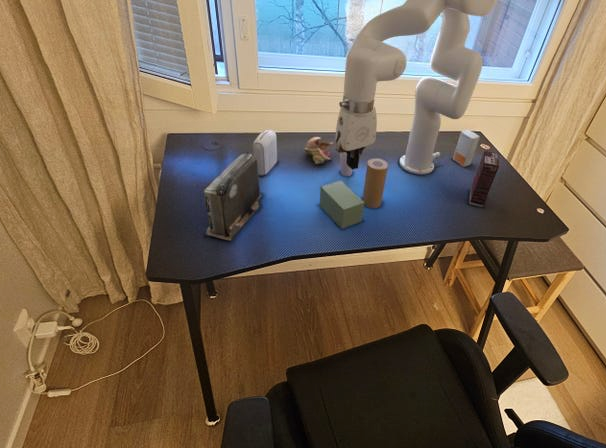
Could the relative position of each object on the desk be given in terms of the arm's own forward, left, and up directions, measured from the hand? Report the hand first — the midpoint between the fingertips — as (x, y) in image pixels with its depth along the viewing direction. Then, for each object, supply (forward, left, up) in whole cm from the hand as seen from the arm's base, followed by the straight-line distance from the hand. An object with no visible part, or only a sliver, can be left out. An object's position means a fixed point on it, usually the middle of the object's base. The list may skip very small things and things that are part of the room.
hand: (352, 166), depth 108 cm
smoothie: (-11, -17, -16) cm, 26 cm away
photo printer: (+11, -31, -16) cm, 36 cm away
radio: (+28, -13, -16) cm, 35 cm away
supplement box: (-42, +15, -16) cm, 47 cm away
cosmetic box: (-55, -4, -16) cm, 57 cm away
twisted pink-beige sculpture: (-7, -29, -16) cm, 34 cm away
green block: (+2, 0, -16) cm, 16 cm away
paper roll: (-5, 0, -15) cm, 15 cm away
